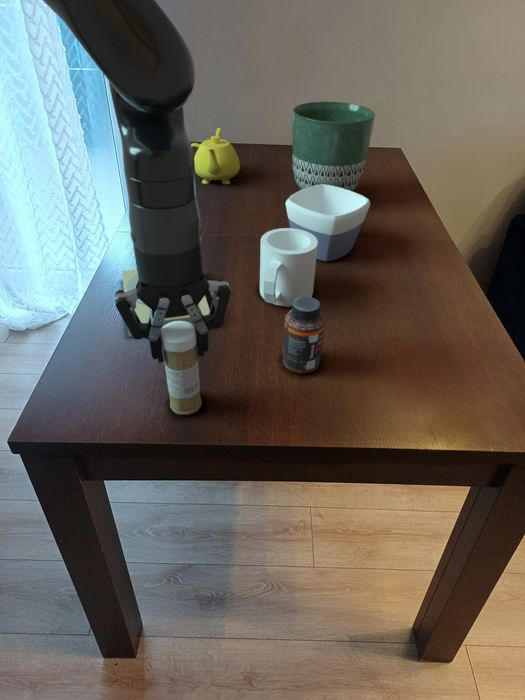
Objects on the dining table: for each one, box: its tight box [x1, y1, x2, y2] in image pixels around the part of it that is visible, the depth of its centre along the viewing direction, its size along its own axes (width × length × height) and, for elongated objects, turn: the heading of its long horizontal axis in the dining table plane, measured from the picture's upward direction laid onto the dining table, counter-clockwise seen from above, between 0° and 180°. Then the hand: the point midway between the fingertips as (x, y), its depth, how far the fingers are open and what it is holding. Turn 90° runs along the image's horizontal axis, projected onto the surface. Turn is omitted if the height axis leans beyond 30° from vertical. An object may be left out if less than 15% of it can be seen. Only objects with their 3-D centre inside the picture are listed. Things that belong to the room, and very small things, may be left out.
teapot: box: [191, 126, 241, 185], centre depth 136 cm, size 20×15×12 cm
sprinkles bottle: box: [160, 321, 202, 416], centre depth 66 cm, size 5×5×14 cm
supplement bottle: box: [282, 296, 326, 374], centre depth 75 cm, size 6×6×11 cm
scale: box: [121, 269, 211, 338], centre depth 90 cm, size 14×18×3 cm
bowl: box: [285, 184, 371, 262], centre depth 105 cm, size 15×15×11 cm
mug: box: [259, 227, 318, 307], centre depth 90 cm, size 14×10×11 cm
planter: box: [291, 101, 376, 192], centre depth 124 cm, size 20×20×21 cm
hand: (180, 354), depth 65 cm, fingers closed on sprinkles bottle, 4 cm apart
